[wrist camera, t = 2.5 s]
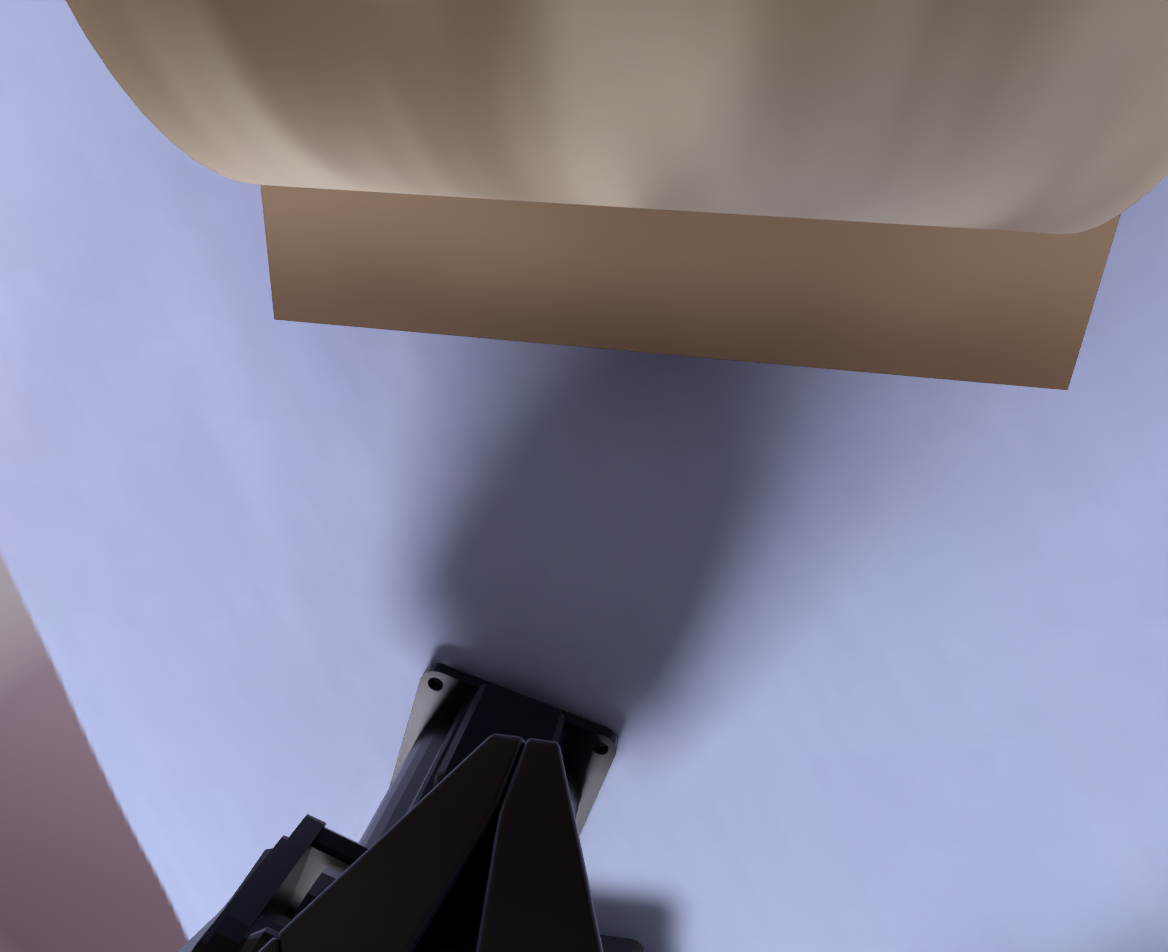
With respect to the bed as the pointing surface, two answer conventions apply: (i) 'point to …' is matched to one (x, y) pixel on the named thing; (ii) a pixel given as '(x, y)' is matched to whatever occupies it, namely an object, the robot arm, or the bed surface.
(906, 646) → the bed surface
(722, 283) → the paper towel roll tray
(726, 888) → the bed surface
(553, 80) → the roller
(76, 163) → the bed surface
